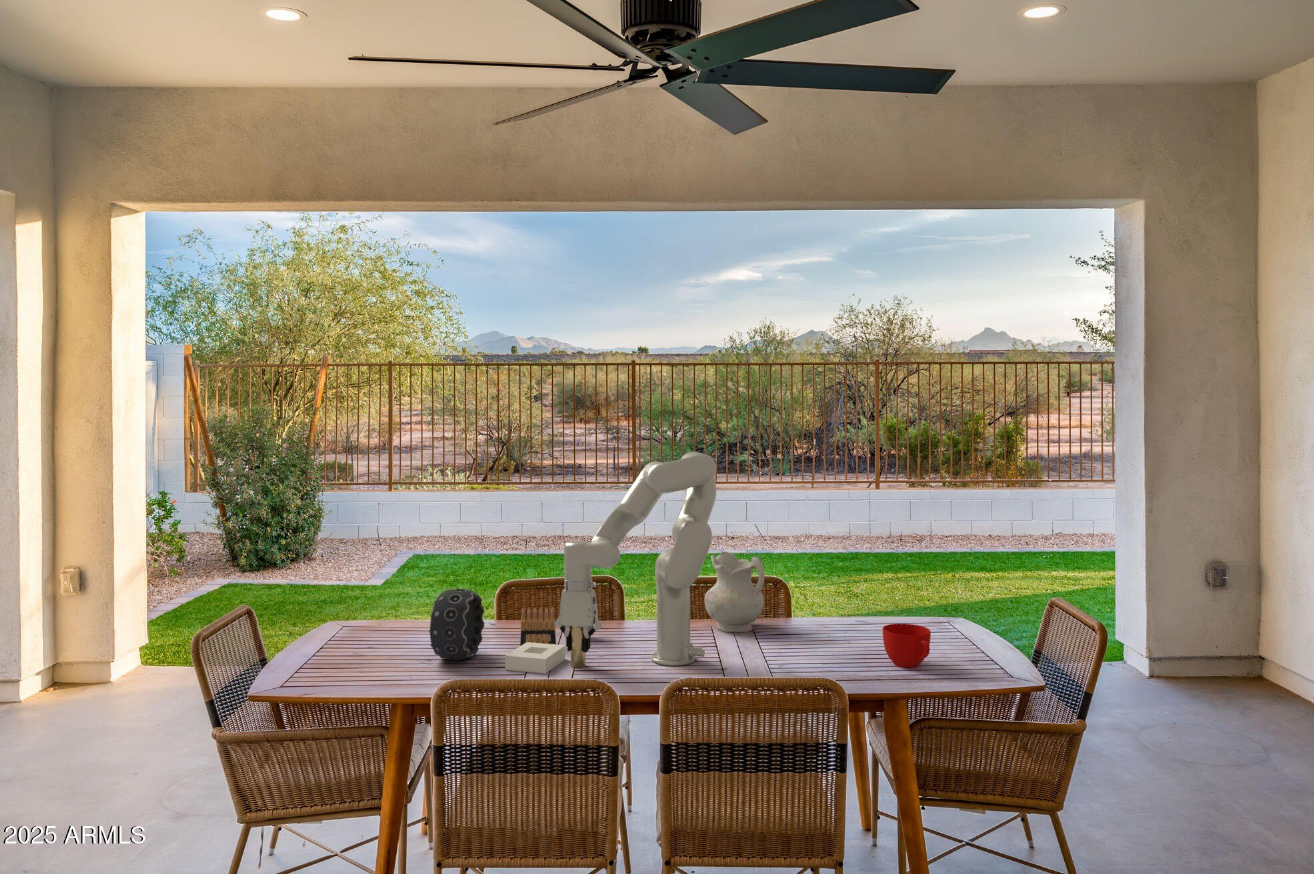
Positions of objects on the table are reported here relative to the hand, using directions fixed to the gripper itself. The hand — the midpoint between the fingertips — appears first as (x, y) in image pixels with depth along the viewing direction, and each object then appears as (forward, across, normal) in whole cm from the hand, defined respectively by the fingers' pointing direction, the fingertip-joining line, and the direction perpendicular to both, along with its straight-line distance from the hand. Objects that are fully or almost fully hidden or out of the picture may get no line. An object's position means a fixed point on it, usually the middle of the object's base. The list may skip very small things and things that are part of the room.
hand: (578, 649), depth 239 cm
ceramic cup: (+5, -89, -25) cm, 93 cm away
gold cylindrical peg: (+4, 0, 0) cm, 4 cm away
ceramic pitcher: (+5, -35, -52) cm, 63 cm away
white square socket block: (+4, +12, +2) cm, 13 cm away
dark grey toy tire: (+5, +36, +3) cm, 36 cm away
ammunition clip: (+5, +19, -15) cm, 25 cm away
